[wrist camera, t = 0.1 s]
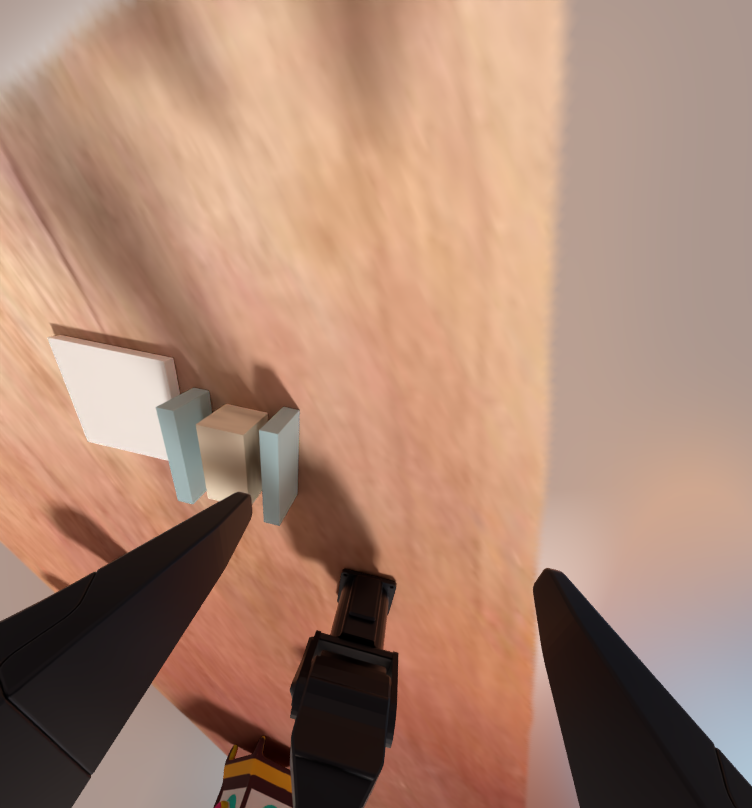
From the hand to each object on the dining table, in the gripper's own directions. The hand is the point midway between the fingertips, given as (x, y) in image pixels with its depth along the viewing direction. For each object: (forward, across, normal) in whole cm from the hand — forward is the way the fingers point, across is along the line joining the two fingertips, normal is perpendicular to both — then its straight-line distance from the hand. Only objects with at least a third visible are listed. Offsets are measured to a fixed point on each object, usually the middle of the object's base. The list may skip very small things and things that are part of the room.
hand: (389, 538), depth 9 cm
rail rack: (+15, +14, +10) cm, 23 cm away
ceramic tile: (+15, +26, +8) cm, 31 cm away
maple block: (+15, +14, +10) cm, 23 cm away
